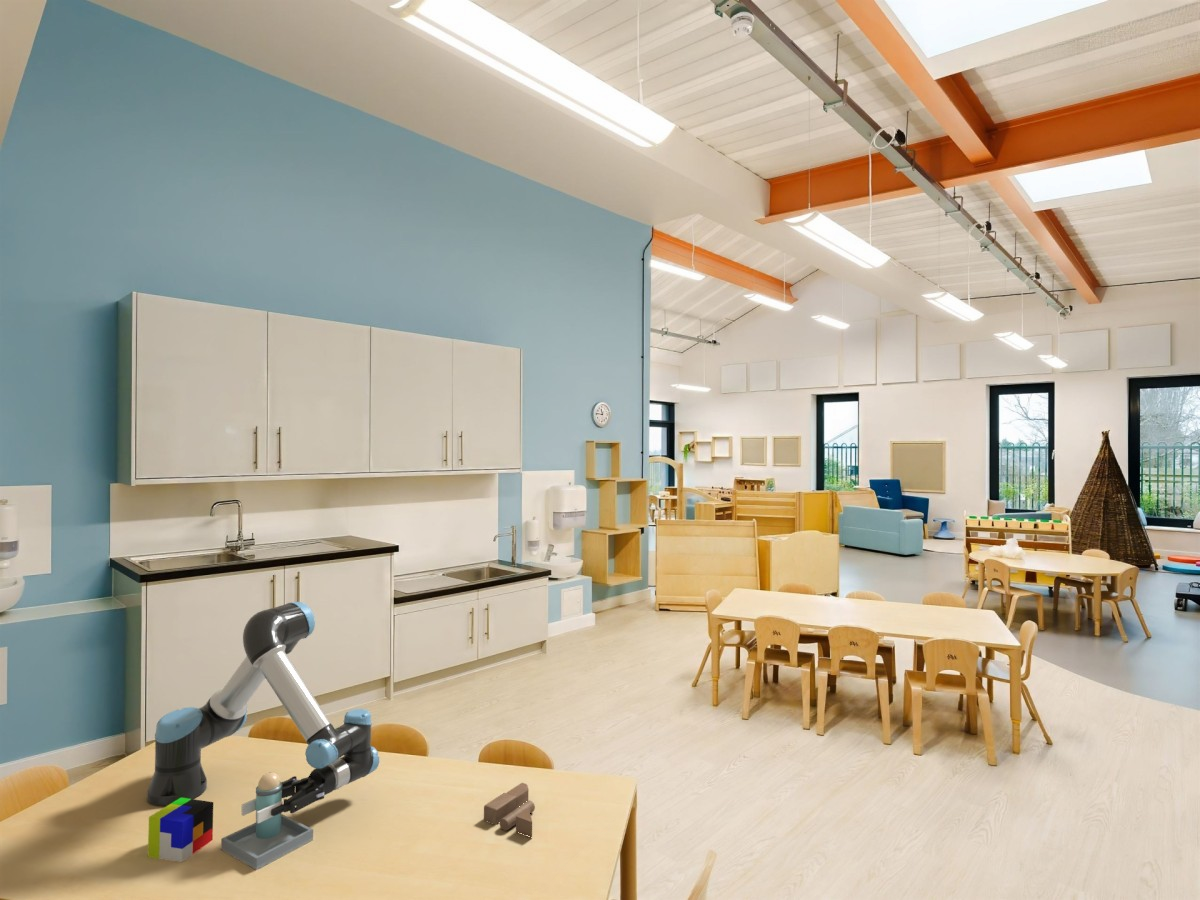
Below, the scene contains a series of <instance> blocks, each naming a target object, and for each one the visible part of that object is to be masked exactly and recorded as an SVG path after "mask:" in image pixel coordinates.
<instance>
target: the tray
mask: <svg viewBox="0 0 1200 900" xmlns="http://www.w3.org/2000/svg"><path fill="white" fill-rule="evenodd" d="M313 840H314V829H313V828H312V827H309V826H307V825H305V824H303V823H301V822H299V821H297V820H295V819H292V817H288V816H286V815H284V814H283V813H281V832H280V833H279V834H278V835H276V836H274V837H271V838H266V839H260V838H257V837H256V822H254V823H252V824H250V825H247V826H245V827H243V828H242V829H239V830H237V831H235V832H233V833H230V834H228V835H226V836H223V837H222V838H221V841H220V842H221V844H220V850H221V851H223V852H224V853H226V854H228V855H230V856H231V857H233V858H235V859H236V860H238V861H240V862H242V863H244V864H245V865H247V866H249V867H250V868H251V869H252V868H253V869H254V870H256V871H257V870H259V869H261V868H263V867H264V866H265V867H266V866H267V865H268V864H270V863H273V862H274V861H276V860H278V859H280V858H282V857H284V856H286V855H287V854H290V853H291V852H294V851H295V850H297V849H299V848H300V847H302V846H304V845H307V844H308V843H310V842H312V841H313Z"/></svg>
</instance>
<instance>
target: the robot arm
mask: <svg viewBox="0 0 1200 900" xmlns="http://www.w3.org/2000/svg"><path fill="white" fill-rule="evenodd" d="M315 627H316V620H315V615H314V613H313V610H312V609H311V607H310V606H308V604H307V603H304V602H301V601H294V602H292V601H291V602H287V603H286V604H281V605H278V606H275V607H272V608H267V609H264V610H263V609H262V610H261V611H258V612H256V613H255V614H253V615H252V616H251V617H250V618H249V620H248V621H247V622H246V624H245V626H244V629H243V632H242V643H243V648H244V652H245V655H246V656H245V657H244V659H243V661H242V662H241V663H240V665H239V666H238V667H237V669H236V670H235V671H234V673H233V674H232V675H231V677H230V678H229V680H228V681H227V683H226V684H225V685H224V687H223V688H222V689H219V690H217V691H215V692H214V693H213V694H211V696H210V697H209V699H208V700H207V701H206V703H205V704H204V705H203V706H201V707H193V706H191V707H183V708H180V709H175V710H173V711H170V712H168V713H166V714H165V715H163V716H161V718H160V719H159V720H158V721H157V723H156V727H155V733H154V739H155V742H154V743H155V744H154V745H155V747H154V748H155V749H154V751H155V752H154V755H155V756H154V757H155V758H154V773H153V775H152V778H151V781H150V784H149V786H148V789H147V792H146V802H147V803H149V804H151V805H153V806H165V807H166V806H168V805H169V804H171V803H173V802H174V801H176V800H178V799H179V798H188V799H195V798H199V796H200V795H203V794H204V793H205V791H206V790H207V788H208V787H207V786H208V784H207V783H208V780H207V776H206V774H205V771H204V769H203V765H202V763H201V762H202V761H201V759H202V756H201V755H202V750H203V749H204V748H206V747H208V746H210V745H212V744H214V743H216V742H218V741H220V740H223V739H225V738H228V737H230V736H232V735H234V734H235V733H236V732H238V731H239V730H241V728H242V727H243V726H244V725H245V723H246V722H247V718H248V715H247V713H248V702H249V701H250V700H251V698H252V697H253V696H254V695H255V693H256V691H257V690H258V689H259V688H260V686H261V685H262V683H263V682H264V681H265V679H266V681H267V683H268V684H269V686H270V687H271V689H272V691H273V693H275V695H276V697H277V698H278V700H279V701H280V703H281V704H282V706H283V708H284V709H285V711H286V713H287V714H288V715H289V717H290V718H291V720H292V721H293V723H294V725H295V726H296V728H297V729H298V731H299V733H300V734H301V736H302V737H303V739H304V740H305V742H306V743H307V747H306V749H305V754H304V755H305V758H306V759H305V760H306V763H307V764H308V765H309V766H311V768H313V770H312V771H311V772H310V774H309V775H308V776H307V777H302V778H301V779H297V775H295V776H292V777H290V778H289V779H286V780H284V781H281V782H282V799H283V801H279V802H277V803H275V804H273V805H271V806H269V807H266V808H264V809H262V810H260V811H258V812H257V823H261V822H263V821H265V820H267V819H269V818H271V817H273V816H276V815H278V814H280V813H281V814H283V813H287V812H289V813H290V814H294V813H296V812H298V811H300V810H302V809H303V808H305V807H308V806H309V805H311V804H313V803H315V802H317V801H320V800H324V799H325V796H326V795H328V794H330V793H332V792H333V791H337V790H339V789H341V788H342V787H345V786H346V785H349V784H351V783H353V782H355V781H357V780H359V779H361V778H365V777H367V776H368V775H369V774H371V773H373V772H374V771H376V770H377V769H378V767H379V766H380V765H379V764H380V756H379V754H378V753H379V752H378V750H377V749H376V748H375V747H374V746H372V745H371V744H372V714H371V711H369V710H368V709H365V708H355V709H351V710H349V711H347V712H345V715H344V719H343V724H341V725H340V726H338V727H336V728H335V727H334V725H333V724H332V722H331V721H330V720H329V718H328V716H327V715H326V713H325V712H324V710H323V708H322V707H321V706H320V704H319V702H318V701H317V700H316V698H315V696H314V695H313V694H312V692H311V690H310V688H309V687H308V685H307V684H306V682H305V681H304V679H303V678H302V676H301V674H300V673H299V671H298V670H297V669H296V667H295V666H294V664H293V662H292V661H291V659H290V658H289V656H288V655H289V654H290V653H291V652H292V651H293V650H294V648H295V647H296V646H297V644H298V643H299V642H300V641H301V640H302V639H303V640H304V639H307V638H308V637H309V636H311V634H313V632H314V630H315ZM288 797H289V798H288ZM253 812H256V797H255V798H253V799H251V800H249V801H247V802H244V803H242V804H241V816H242V817H244V816H246V815H248V814H250V813H253Z"/></svg>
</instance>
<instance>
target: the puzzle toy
mask: <svg viewBox="0 0 1200 900" xmlns="http://www.w3.org/2000/svg"><path fill="white" fill-rule="evenodd" d="M213 827H214V801H208V800H201V799H195V798H194V799H188V798H179V799H178V800H176V801H174V802H173V803H171V804H169V805H165V807H163V808H162V809H161V808H160V810H158V811H156V812H155V813H153V814H151V815H149V817H148V841H147V842H148V843H147V844H148V845H147V857H148V858H154V859H160V860H167V861H171V862H172V861H174V862H180V863H183V862H184V861H186V860H187V859H188V858H190V857H191V856H193V855H194V854H195V853H197V852H198V851H199V850H201V849H202V848H204V847H205V846H206V845H208V844H209V843H210V842H212V841H213V835H214V834H213V833H214V832H213V831H214V828H213Z"/></svg>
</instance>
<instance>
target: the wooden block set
mask: <svg viewBox="0 0 1200 900" xmlns="http://www.w3.org/2000/svg"><path fill="white" fill-rule="evenodd" d="M528 786H529V785H528V784H527V783H524V782H520V783H519V784H518V785H516V786H514V787H513V788H511V789H510V790H508V791H507V792H503V793H502V794H500V795H499V796H497V797H495V798H494V799H492V800H490V801H489V802H487V803H486V804H484V806H483V821H484V820H485V821H484V822H486V821H488V822H490V823H489V824H491V823H493V824H492V825H494V824H497V823H498V822H500V823H499V827H500V828H502V829H504V830H507V831H508V830H510V829H511V828H512V827H514V826H515V833H516V832H519V833H522V834H524V835H528V836H530V837H532V838H533V820H532V815H531V814H532V813H533V812H534V811H535V810H536V806H535V804H534V803H535V802H533V801H532V800H529V791H530V790H529V787H528ZM526 801H527V802H526ZM523 803H524V804H523ZM519 806H520V807H519ZM530 813H531V814H530ZM488 822H487V823H488ZM497 825H498V824H497ZM502 829H501V830H502ZM504 830H503V831H504Z"/></svg>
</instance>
